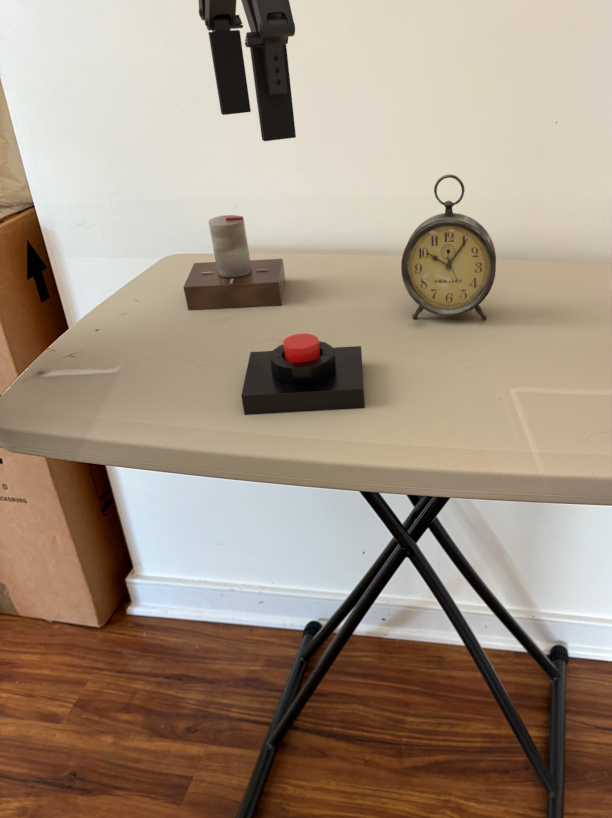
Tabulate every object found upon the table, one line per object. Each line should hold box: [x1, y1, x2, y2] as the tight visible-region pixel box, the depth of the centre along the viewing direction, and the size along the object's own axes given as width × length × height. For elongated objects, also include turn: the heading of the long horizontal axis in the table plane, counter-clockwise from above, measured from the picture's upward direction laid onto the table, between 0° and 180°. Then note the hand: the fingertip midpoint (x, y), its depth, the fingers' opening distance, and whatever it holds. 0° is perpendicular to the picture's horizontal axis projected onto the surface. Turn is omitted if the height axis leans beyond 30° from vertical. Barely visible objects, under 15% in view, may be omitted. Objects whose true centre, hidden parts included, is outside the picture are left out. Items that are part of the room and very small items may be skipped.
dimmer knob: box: [208, 214, 252, 278], centre depth 97 cm, size 4×4×7 cm
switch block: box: [240, 340, 366, 416], centre depth 78 cm, size 12×10×4 cm
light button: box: [282, 333, 320, 363], centre depth 77 cm, size 4×4×2 cm
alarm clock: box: [400, 174, 497, 321], centre depth 88 cm, size 11×5×16 cm, turn 83°
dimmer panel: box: [183, 258, 286, 311], centre depth 100 cm, size 12×9×3 cm
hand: (256, 125), depth 68 cm, fingers open, 13 cm apart
